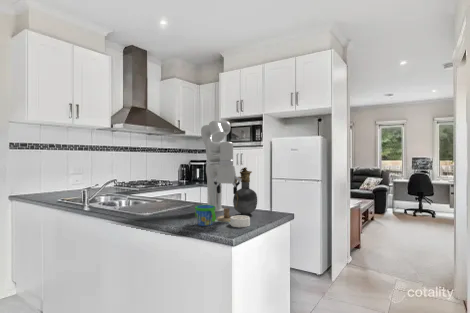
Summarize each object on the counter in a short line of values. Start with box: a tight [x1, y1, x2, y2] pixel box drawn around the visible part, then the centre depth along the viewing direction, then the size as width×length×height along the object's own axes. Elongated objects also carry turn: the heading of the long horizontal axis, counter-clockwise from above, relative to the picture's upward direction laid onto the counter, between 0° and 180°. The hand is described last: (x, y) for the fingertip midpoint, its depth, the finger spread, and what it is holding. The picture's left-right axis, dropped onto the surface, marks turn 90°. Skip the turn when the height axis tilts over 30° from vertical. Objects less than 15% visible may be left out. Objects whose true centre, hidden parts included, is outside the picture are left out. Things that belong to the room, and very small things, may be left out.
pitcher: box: [232, 167, 258, 217], centre depth 178 cm, size 11×19×30 cm, turn 145°
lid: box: [216, 207, 233, 223], centre depth 167 cm, size 11×11×6 cm
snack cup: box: [194, 204, 217, 227], centre depth 156 cm, size 16×10×10 cm
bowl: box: [229, 214, 251, 228], centre depth 155 cm, size 10×10×4 cm
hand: (226, 193), depth 167 cm, fingers open, 9 cm apart
